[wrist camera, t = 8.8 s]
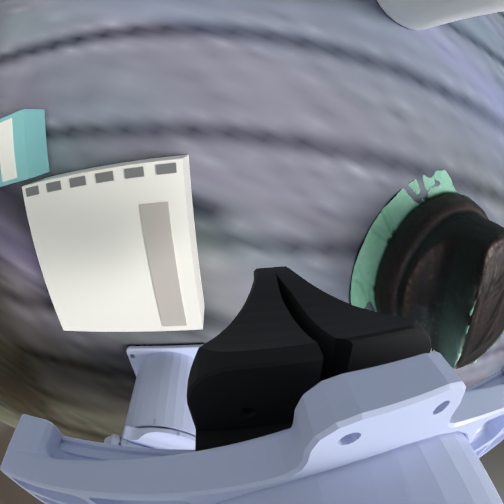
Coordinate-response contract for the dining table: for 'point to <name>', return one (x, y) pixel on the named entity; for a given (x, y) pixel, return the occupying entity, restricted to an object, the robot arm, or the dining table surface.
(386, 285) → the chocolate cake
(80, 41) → the dining table surface
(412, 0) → the mug
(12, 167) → the stub
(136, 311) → the ticket
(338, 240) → the dining table surface
